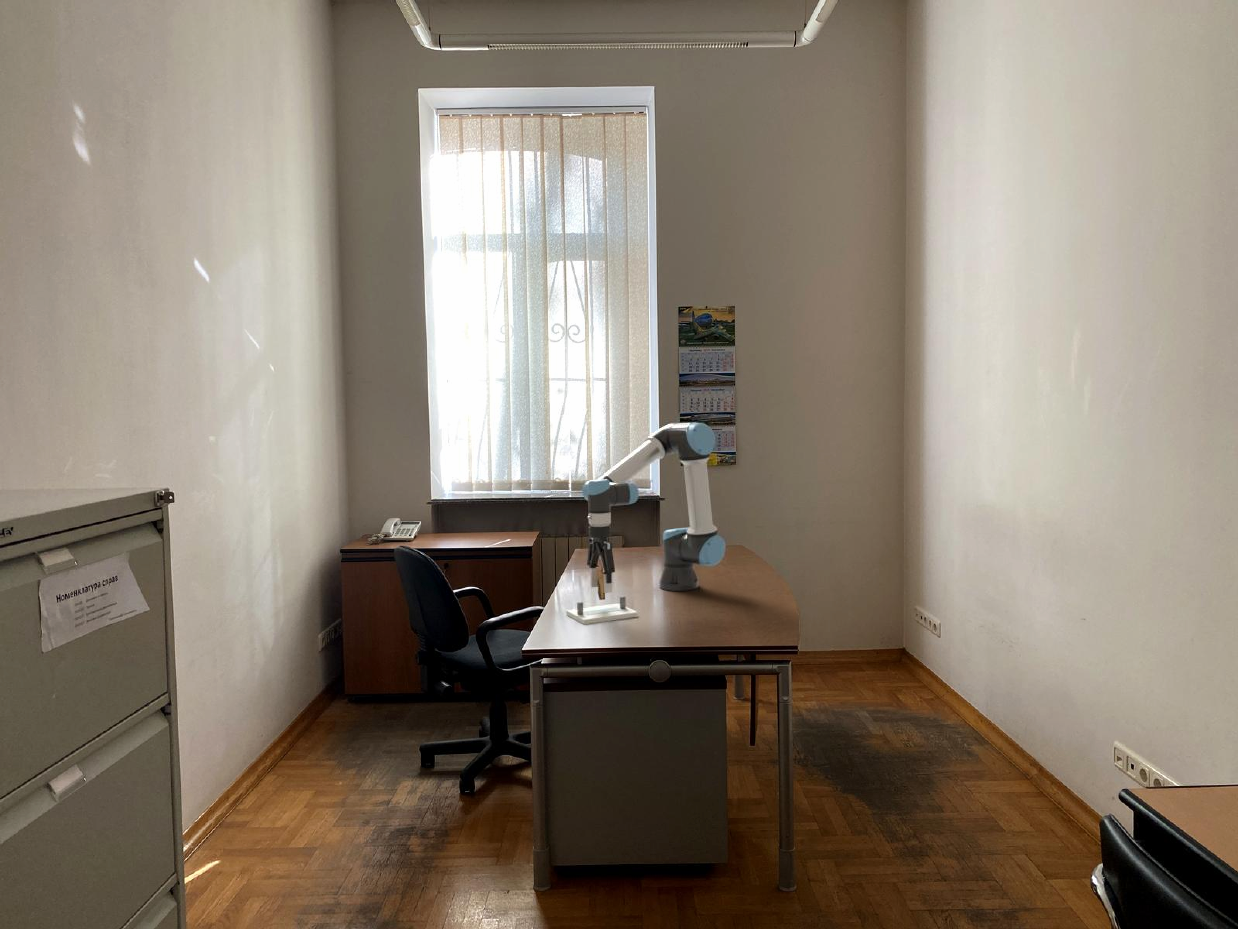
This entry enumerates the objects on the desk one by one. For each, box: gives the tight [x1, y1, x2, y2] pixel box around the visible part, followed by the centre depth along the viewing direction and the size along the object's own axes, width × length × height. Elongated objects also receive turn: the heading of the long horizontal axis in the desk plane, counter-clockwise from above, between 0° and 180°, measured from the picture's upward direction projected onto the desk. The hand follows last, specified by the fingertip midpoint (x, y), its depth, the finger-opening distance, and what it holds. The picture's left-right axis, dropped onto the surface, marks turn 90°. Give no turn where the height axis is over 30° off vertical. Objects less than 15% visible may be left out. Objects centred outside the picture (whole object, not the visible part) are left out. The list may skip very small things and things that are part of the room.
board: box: [565, 595, 639, 625], centre depth 293 cm, size 20×15×6 cm
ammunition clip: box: [597, 558, 606, 601], centre depth 292 cm, size 11×2×12 cm, turn 4°
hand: (601, 589), depth 293 cm, fingers closed on ammunition clip, 10 cm apart
